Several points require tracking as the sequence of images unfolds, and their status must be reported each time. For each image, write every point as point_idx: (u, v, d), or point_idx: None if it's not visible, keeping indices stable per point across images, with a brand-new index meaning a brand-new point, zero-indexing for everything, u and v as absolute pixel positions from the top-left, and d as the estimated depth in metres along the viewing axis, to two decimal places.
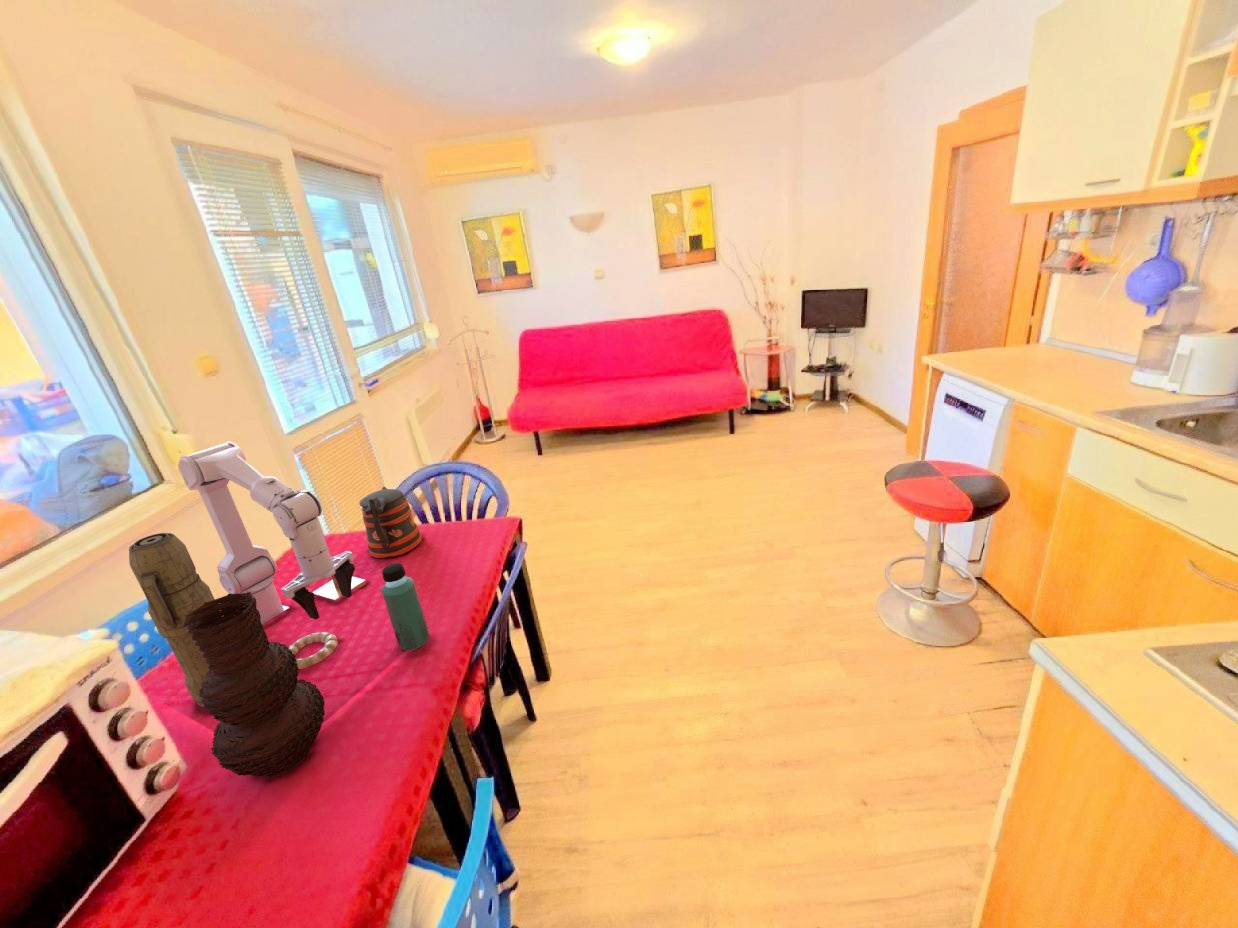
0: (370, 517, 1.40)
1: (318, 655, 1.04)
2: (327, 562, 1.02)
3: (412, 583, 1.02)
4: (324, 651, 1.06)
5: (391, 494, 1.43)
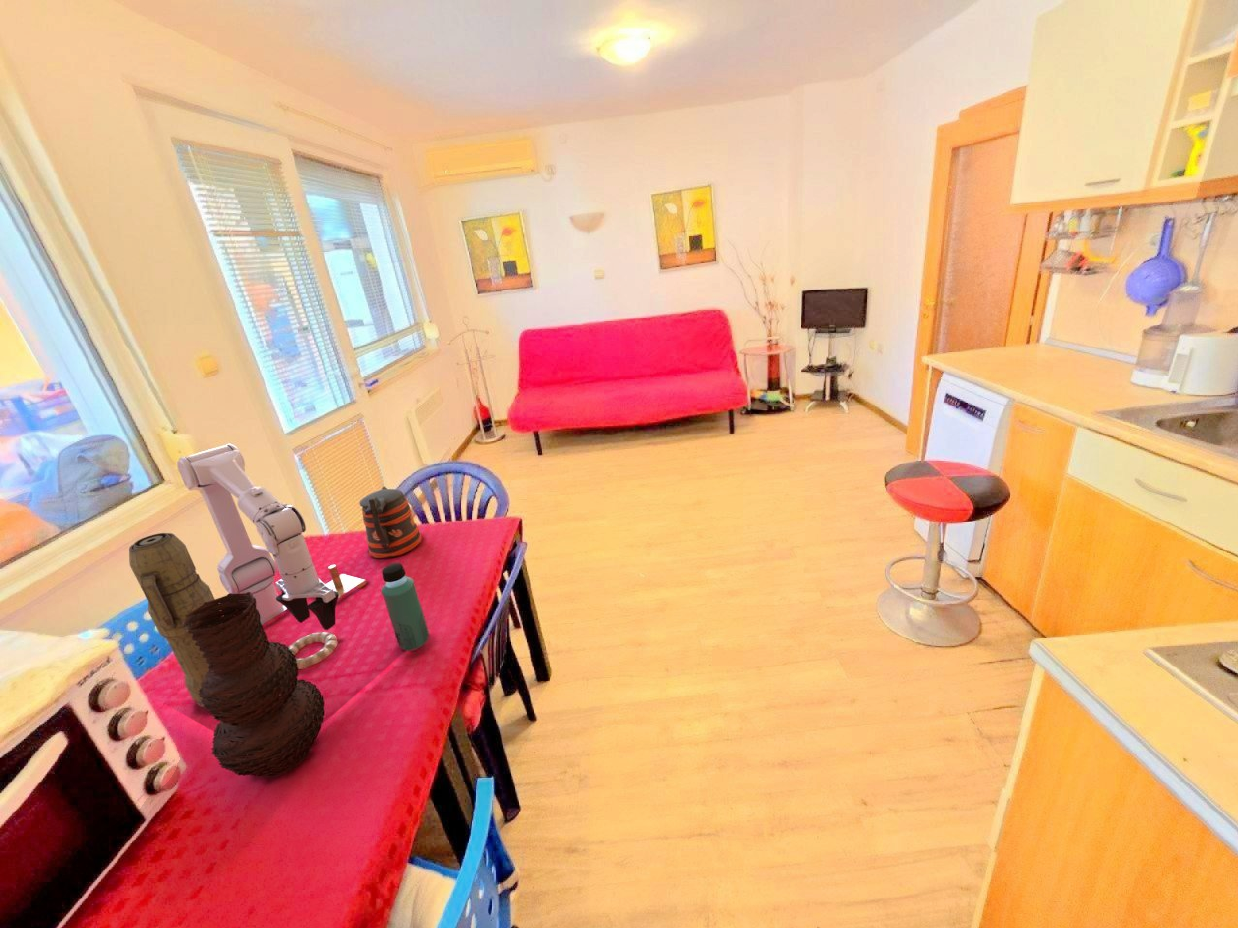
0: (370, 517, 1.40)
1: (318, 655, 1.04)
2: (290, 587, 0.98)
3: (412, 583, 1.02)
4: (324, 651, 1.06)
5: (391, 494, 1.43)
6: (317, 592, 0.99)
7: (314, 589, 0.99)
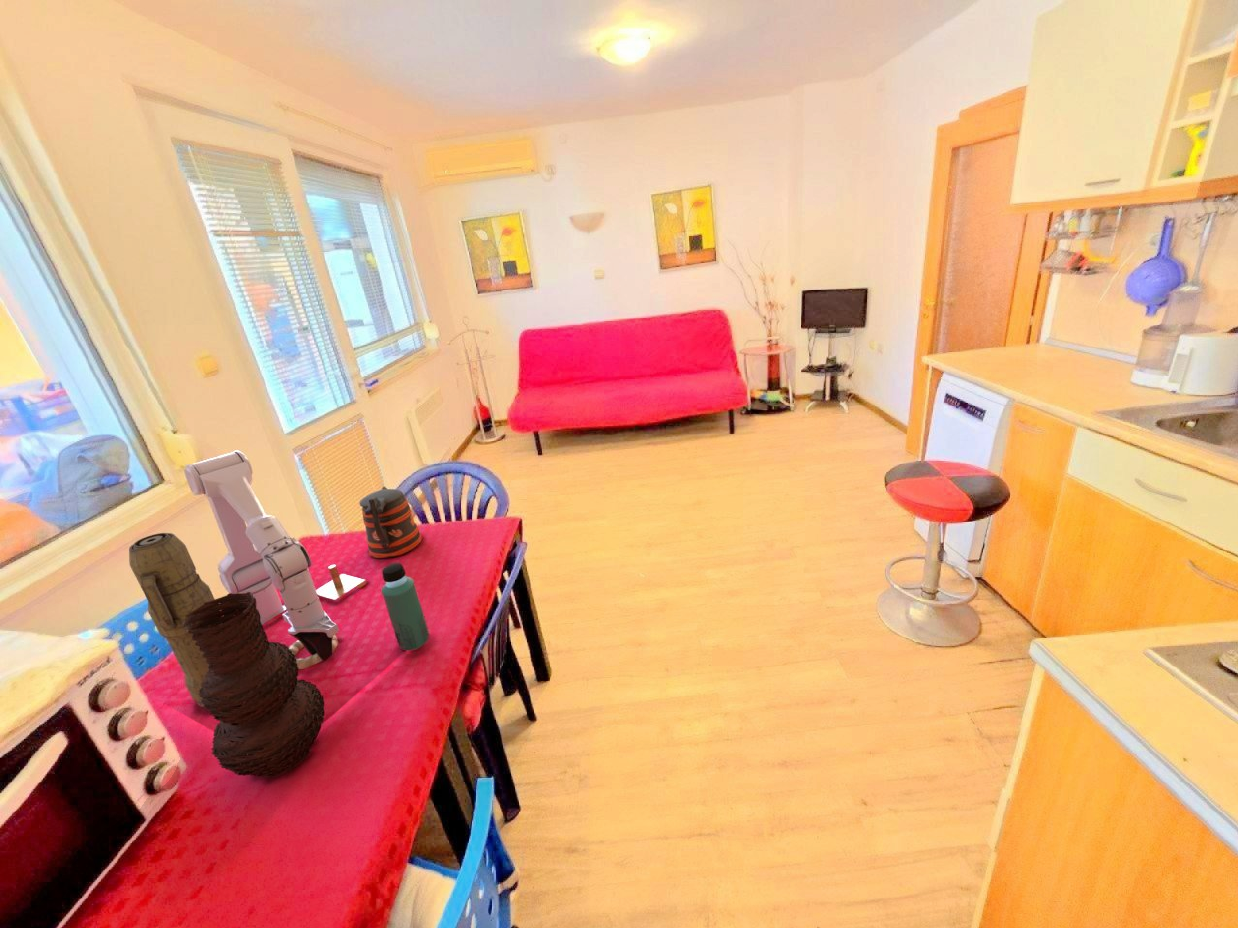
0: (370, 517, 1.40)
1: None
2: (295, 621, 0.99)
3: (412, 583, 1.02)
4: None
5: (391, 494, 1.43)
6: (321, 626, 1.00)
7: (319, 623, 1.01)
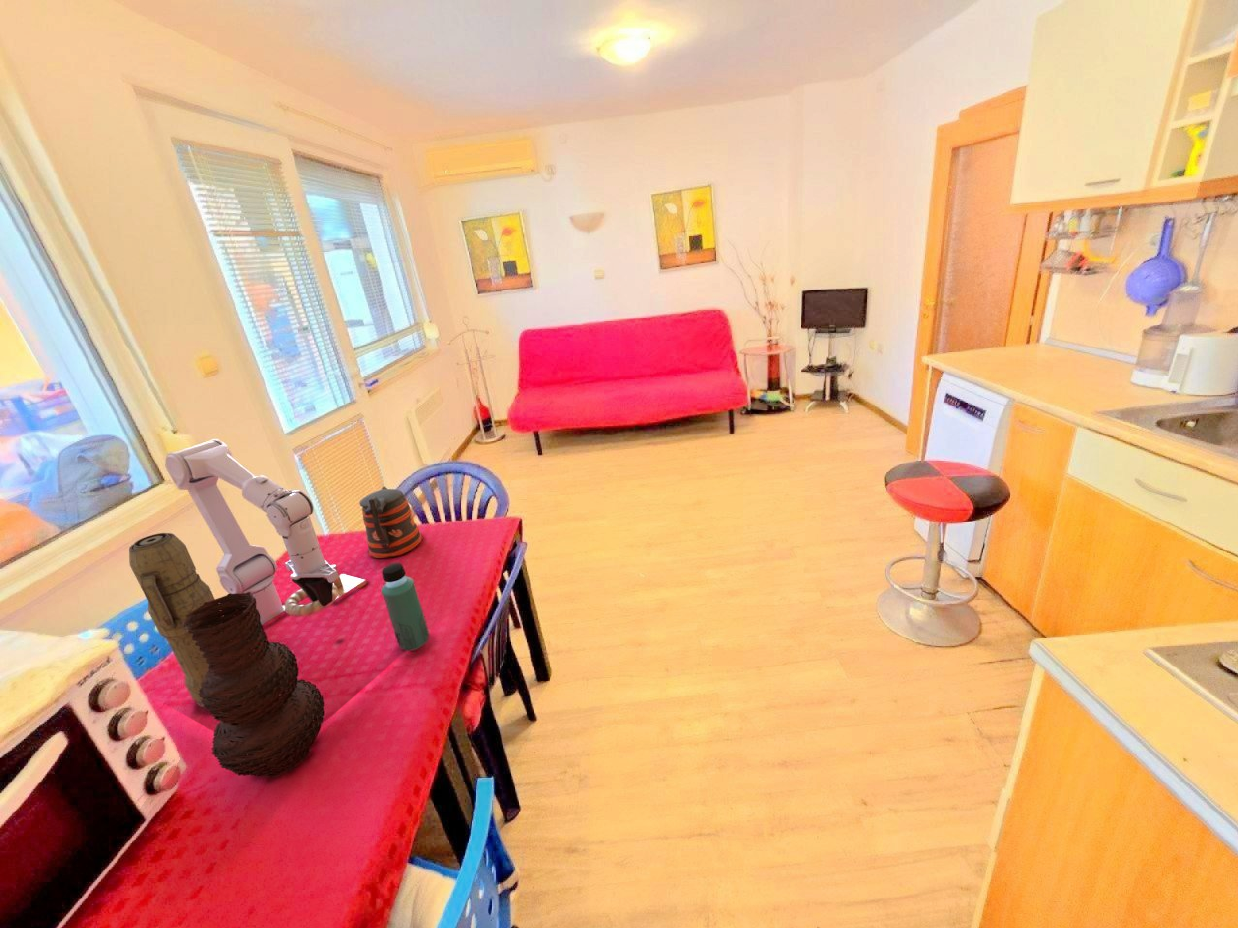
0: (370, 517, 1.40)
1: (319, 602, 1.10)
2: (297, 566, 1.04)
3: (412, 583, 1.02)
4: None
5: (391, 494, 1.43)
6: (322, 572, 1.05)
7: (320, 570, 1.06)
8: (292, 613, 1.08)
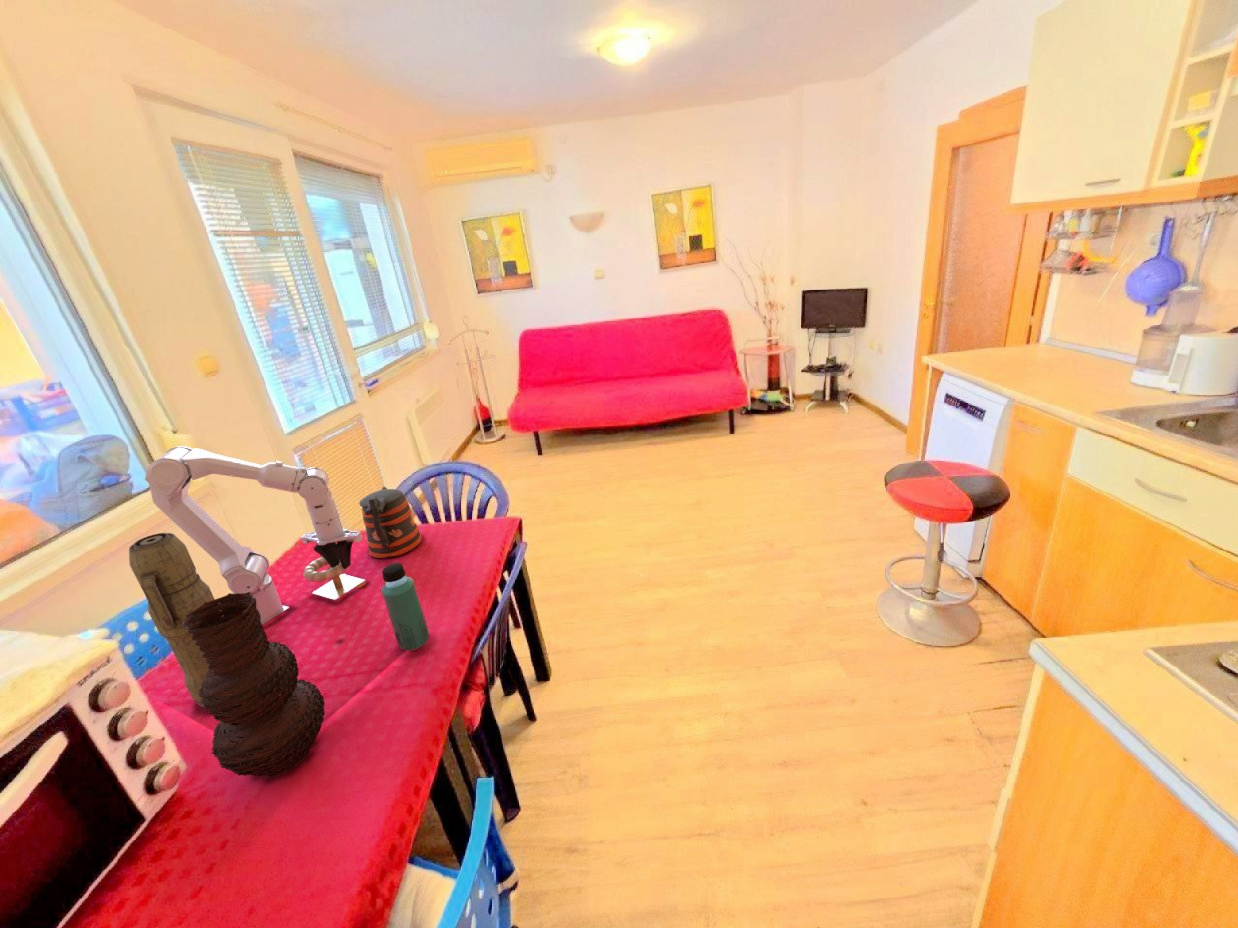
0: (370, 517, 1.40)
1: (340, 565, 1.24)
2: (324, 533, 1.19)
3: (412, 583, 1.02)
4: None
5: (391, 494, 1.43)
6: (347, 536, 1.21)
7: (343, 534, 1.22)
8: (317, 578, 1.21)
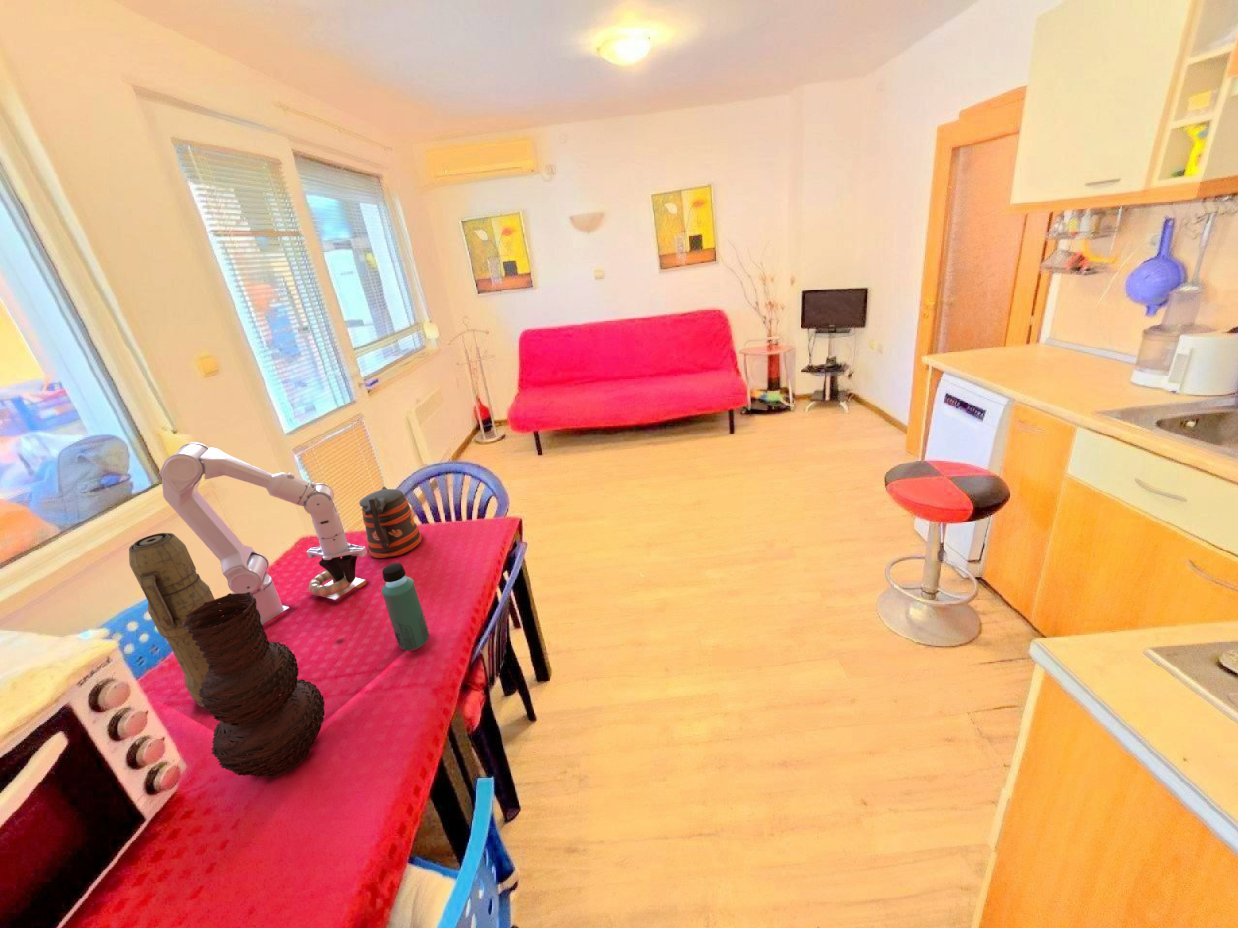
0: (370, 517, 1.40)
1: (345, 579, 1.26)
2: (329, 548, 1.21)
3: (412, 583, 1.02)
4: None
5: (391, 494, 1.43)
6: (352, 550, 1.23)
7: (348, 549, 1.24)
8: (323, 592, 1.23)
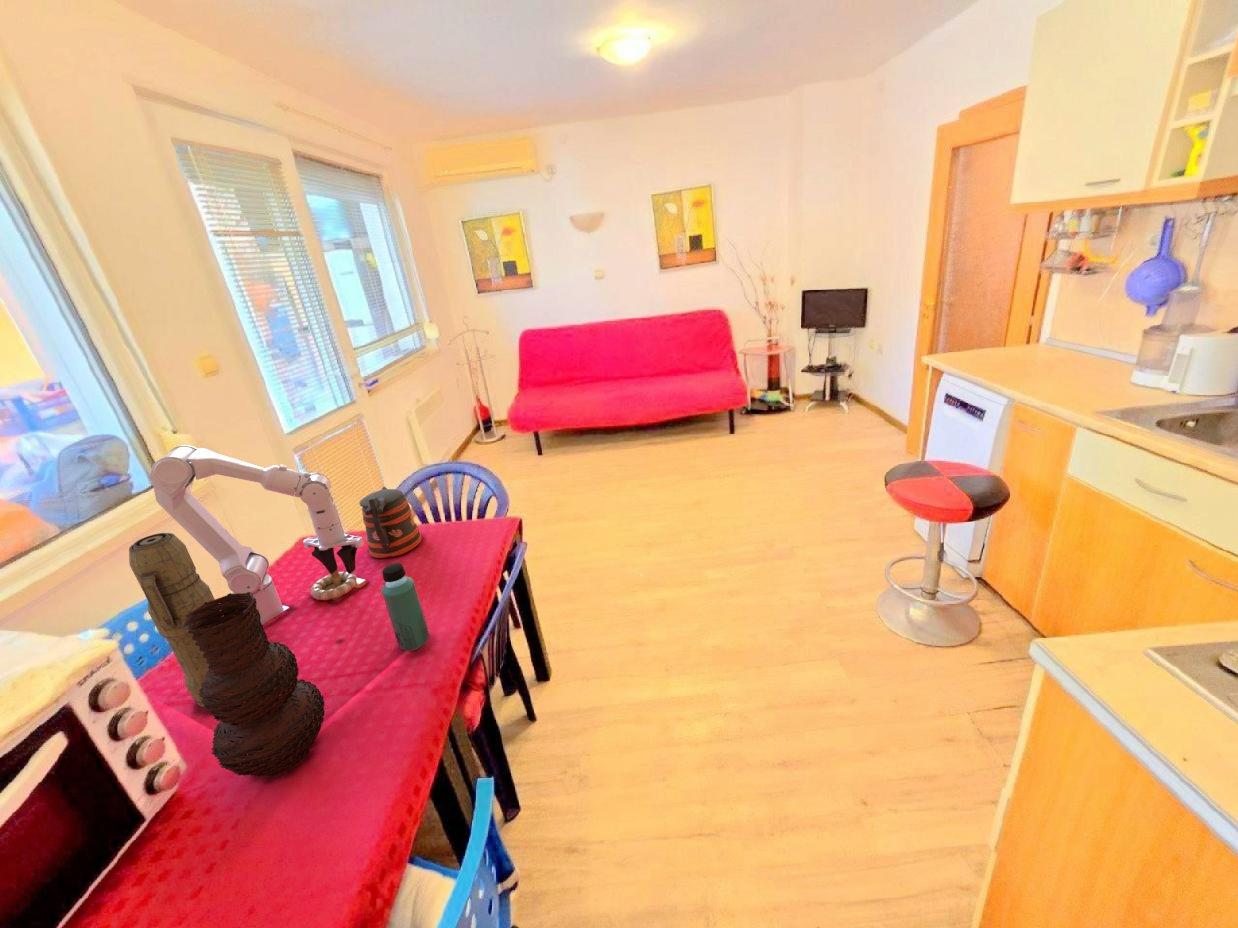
0: (370, 517, 1.40)
1: (347, 584, 1.27)
2: (325, 538, 1.20)
3: (412, 583, 1.02)
4: (350, 581, 1.28)
5: (391, 494, 1.43)
6: (349, 541, 1.22)
7: (344, 539, 1.22)
8: (325, 597, 1.23)
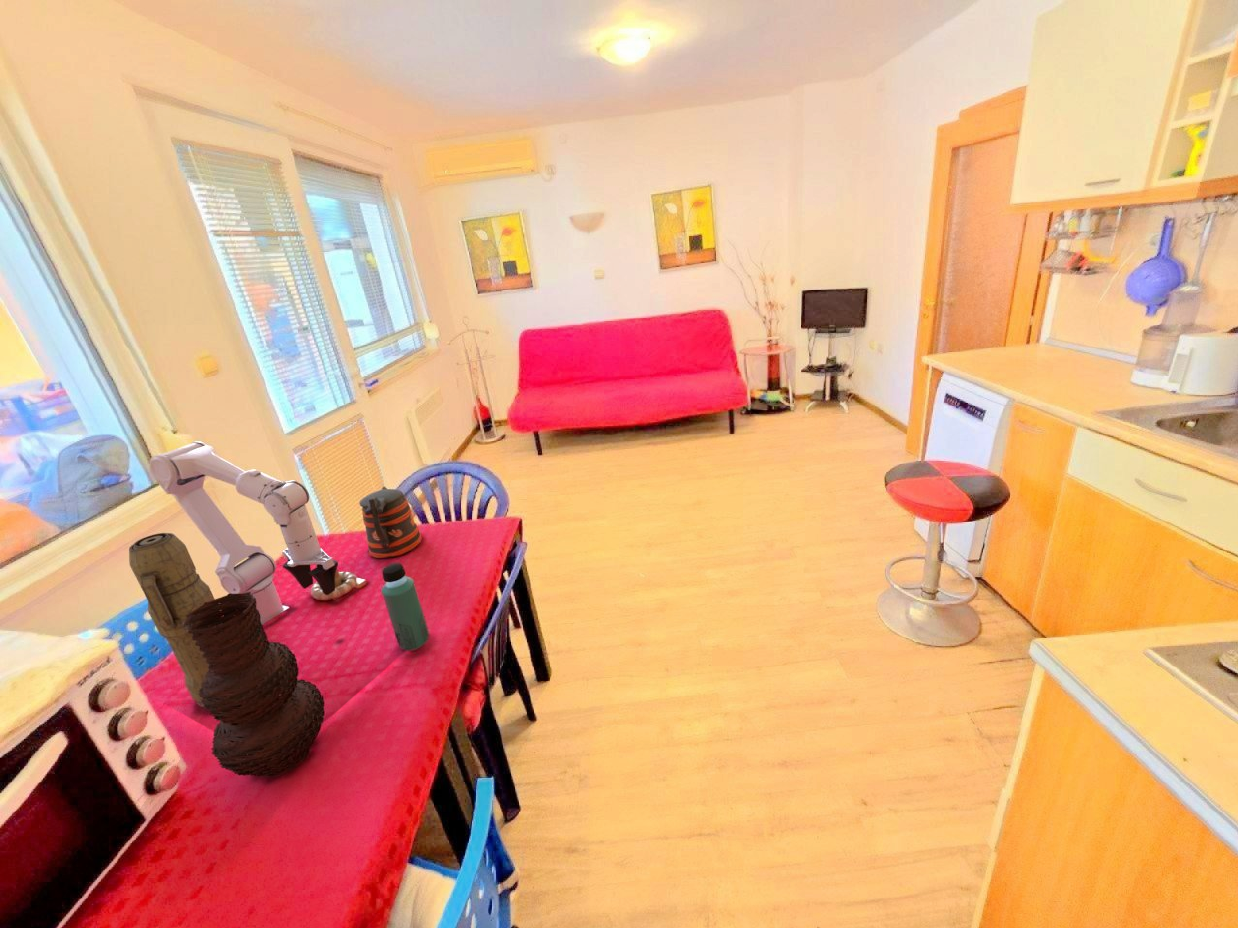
0: (370, 517, 1.40)
1: (347, 584, 1.27)
2: (294, 554, 1.08)
3: (412, 583, 1.02)
4: (350, 581, 1.28)
5: (391, 494, 1.43)
6: (318, 560, 1.09)
7: (316, 557, 1.10)
8: (325, 597, 1.23)
